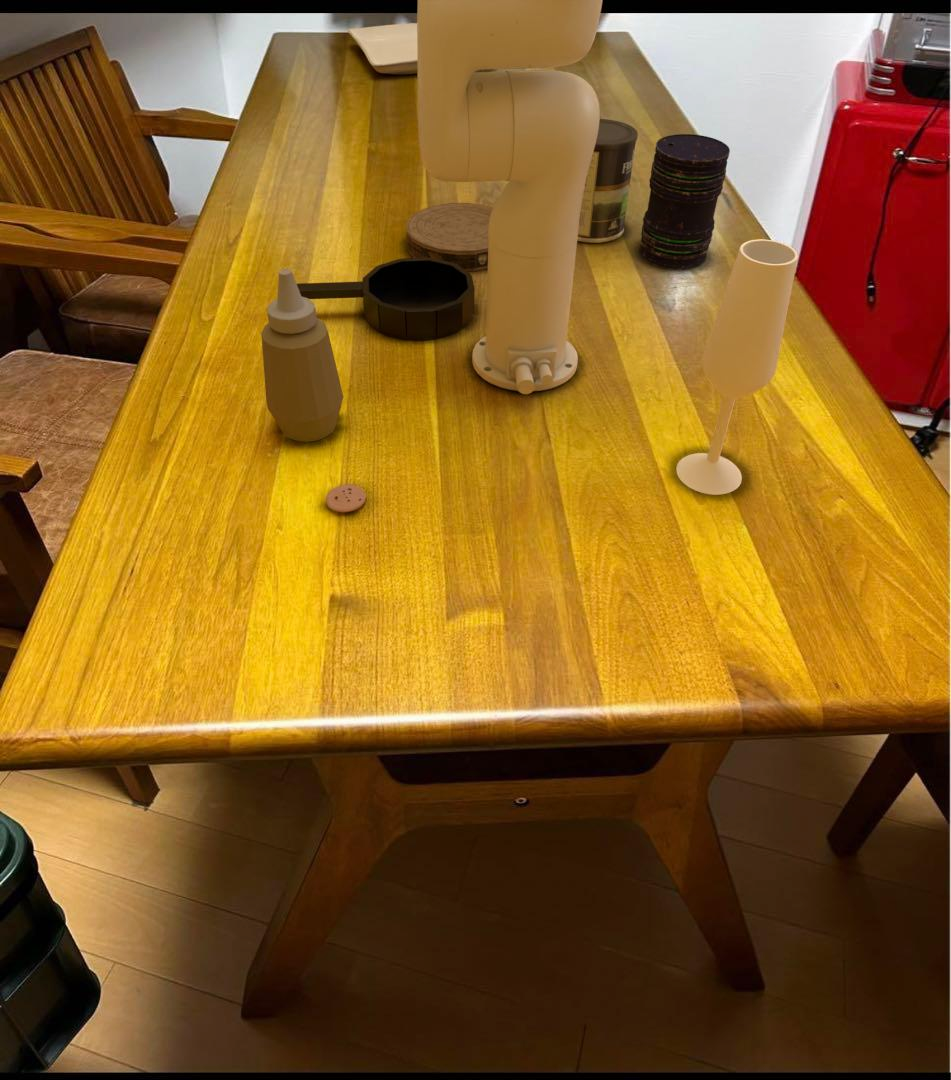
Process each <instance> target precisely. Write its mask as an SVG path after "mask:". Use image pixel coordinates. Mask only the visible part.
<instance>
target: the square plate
mask: <svg viewBox="0 0 951 1080" xmlns="http://www.w3.org/2000/svg"><path fill="white" fill-rule="evenodd" d="M347 32H348V34H349V35H350V36H351V38H352V39H353V41H354V42H355V43H356V45H357V46H358V47H359V48H360V49H361V50H362V52H363V53H364V55H365V57H366V59H367V61H368V62H369V64H370V65H371V67H372V68H373V69H374V71H376V72H377V73H380V74H388V75H414V74H418V63H417V22H412V23H397V24H385V25H375V26H366V27H358V28H349V29H347Z"/></svg>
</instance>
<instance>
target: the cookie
mask: <svg viewBox="0 0 951 1080" xmlns="http://www.w3.org/2000/svg"><path fill="white" fill-rule="evenodd" d="M366 500H367V494H366V491H365V490H364V489H363V488H362V487H360V486H358V485H356V484H348V483H347V484H341V485H338V486H335V487H333V488H332V489H330V490H329V491H328V492H327V495H326V496H325V503H326V506H327V507H328V508H329V509H330V510H332V511H335V512H337V513H349V512H353V511H356V510H359V509H361V507H362V506H363V505H364V504H365V503H366Z"/></svg>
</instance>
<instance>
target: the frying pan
mask: <svg viewBox="0 0 951 1080" xmlns="http://www.w3.org/2000/svg"><path fill="white" fill-rule="evenodd" d="M296 284H297V286H298V289H299V292H300V294H301V296H302V297H305V298H308V299H310V300H331V299H332V300H333V299H356V298H357V299H358V298H362V302H363V314H364V318H365V320H366V322H367V323H368V324H369V326H371V328H372V329H374V330H375V331H377V332H379V333H380V334H383V335H385V336H388V337H391V338H395V339H400V340H406V341H429V340H437V339H442V338H445V337H449V336H452V335H454V334H457V332H459V331H461V330H463V329H464V328H465V327H467V325H469V323H470V322H471V321H472V318H473V315H474V314H475V284H474V279H473V274H471V273H470V271H466V270H464V269H463V268H461V267H460V266H458V265H457V264H454V263H452V262H447V261H443V260H439V259H434V258H413V257H403V258H396V259H394V260H391V261H387V262H384V263H381V264H378V265H376V266H375V267H374V268H372V269H371V270H370V271H369V272H368V273H367V274H366V275H365V276H363V277H362V281H361V280H360V281H338V282H337V281H334V282H333V281H332V282H302V283H300V282H299V283H296Z"/></svg>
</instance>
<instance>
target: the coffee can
mask: <svg viewBox="0 0 951 1080" xmlns="http://www.w3.org/2000/svg"><path fill="white" fill-rule="evenodd" d="M638 133H639V132H638V131H637V129H636V128H635V127H634V126H632V125H630V124H627V123H626V122H622V121H618V120H615V119H607V118H606V119H605V118H600V120H599V130H598V135H597V140H596V144H595V148H594V151H593V155H592V159H591V162H590V166H589V170H588V174H587V178H586V182H585V187H584V192H583V198H582V204H581V212H580V220H579V229H578V238H577V242H580V243H586V244H587V243H588V244H601V243H608V242H613V241H615V240H617V239H619V238H621V236H622V235H623V234H624V232H625V222H626V215H627V207H628V200H629V193H630V185H631V184H630V183H631V179H632V172H633V165H634V158H635V157H634V156H635V149H636V142H637V140H638V137H639V136H638Z"/></svg>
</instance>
